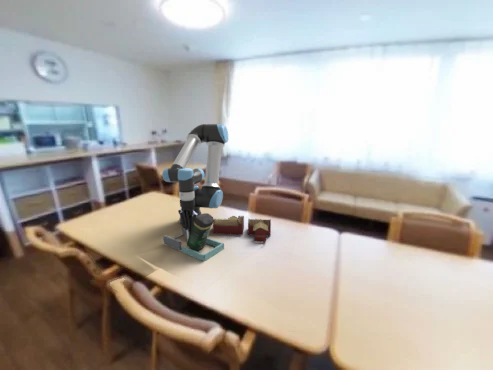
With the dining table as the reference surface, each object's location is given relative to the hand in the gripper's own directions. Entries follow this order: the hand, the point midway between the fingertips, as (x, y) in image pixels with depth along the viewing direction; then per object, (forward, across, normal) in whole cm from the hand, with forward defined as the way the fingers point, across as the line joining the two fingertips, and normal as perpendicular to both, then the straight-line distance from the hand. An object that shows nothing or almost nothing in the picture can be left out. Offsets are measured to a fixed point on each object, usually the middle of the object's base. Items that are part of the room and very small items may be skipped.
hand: (190, 241), depth 126 cm
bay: (+2, -6, 0) cm, 7 cm away
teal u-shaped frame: (+2, +10, 0) cm, 10 cm away
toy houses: (+3, +10, +24) cm, 26 cm away
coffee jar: (+1, +5, 0) cm, 5 cm away
